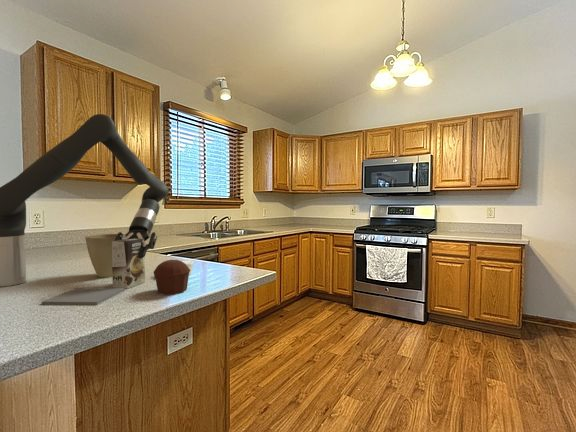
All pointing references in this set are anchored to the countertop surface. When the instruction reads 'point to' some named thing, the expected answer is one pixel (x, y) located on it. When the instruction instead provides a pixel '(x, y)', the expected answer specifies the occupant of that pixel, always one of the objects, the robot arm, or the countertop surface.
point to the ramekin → (188, 264)
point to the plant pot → (101, 253)
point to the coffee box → (127, 263)
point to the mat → (83, 296)
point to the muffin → (171, 277)
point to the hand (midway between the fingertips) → (128, 257)
